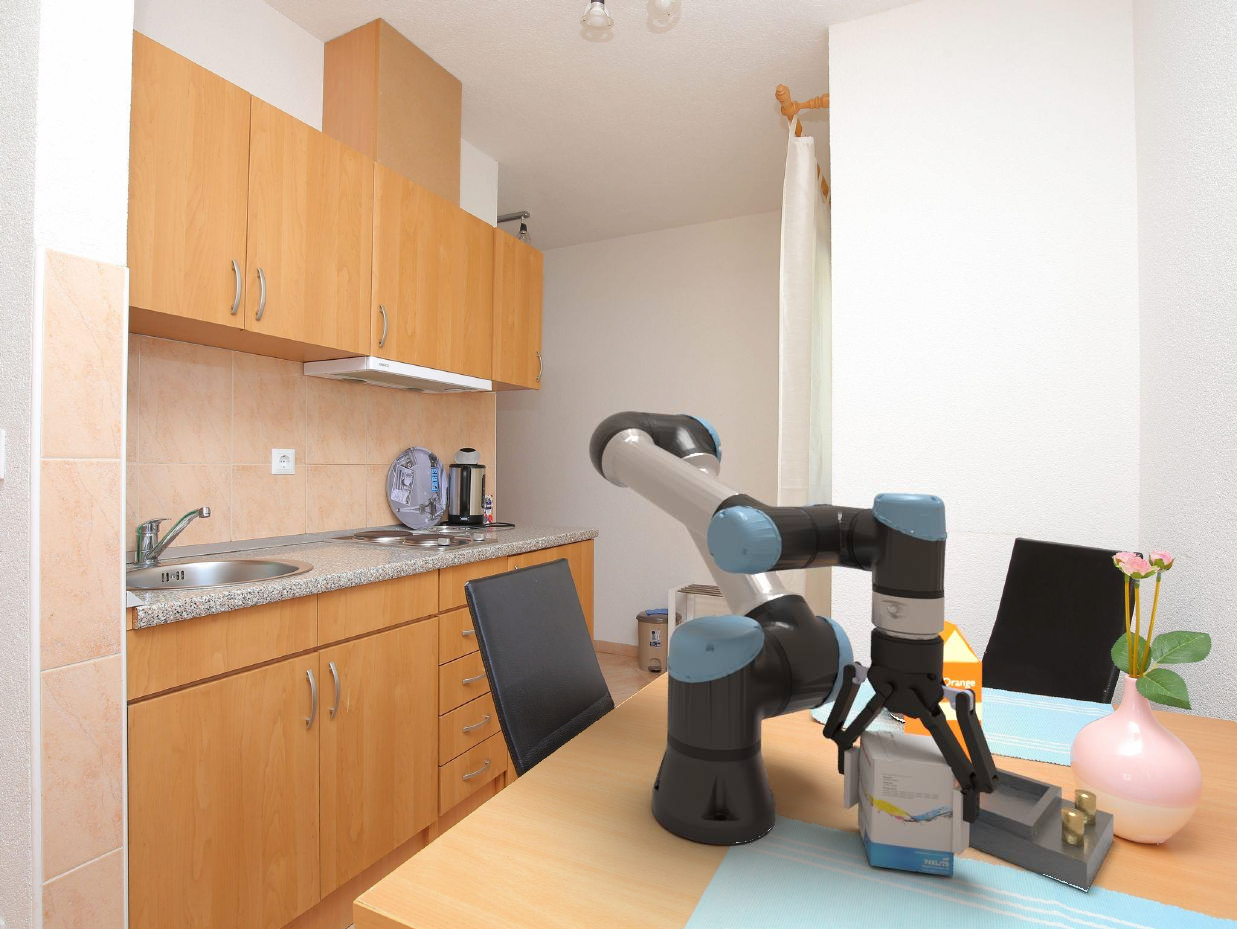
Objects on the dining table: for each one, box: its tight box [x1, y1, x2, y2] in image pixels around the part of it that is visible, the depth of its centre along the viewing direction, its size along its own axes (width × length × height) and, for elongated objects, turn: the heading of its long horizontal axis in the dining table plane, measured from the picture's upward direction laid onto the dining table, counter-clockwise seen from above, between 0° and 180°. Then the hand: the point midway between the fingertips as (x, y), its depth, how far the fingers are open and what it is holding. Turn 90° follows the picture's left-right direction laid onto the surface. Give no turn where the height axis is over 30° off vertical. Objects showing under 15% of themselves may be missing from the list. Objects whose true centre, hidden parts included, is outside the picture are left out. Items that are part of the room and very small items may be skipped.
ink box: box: [857, 729, 955, 877], centre depth 73 cm, size 8×8×12 cm
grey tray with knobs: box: [955, 759, 1114, 890], centre depth 78 cm, size 20×14×6 cm
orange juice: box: [903, 619, 983, 760], centre depth 101 cm, size 8×9×20 cm
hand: (902, 825), depth 72 cm, fingers closed on ink box, 11 cm apart
